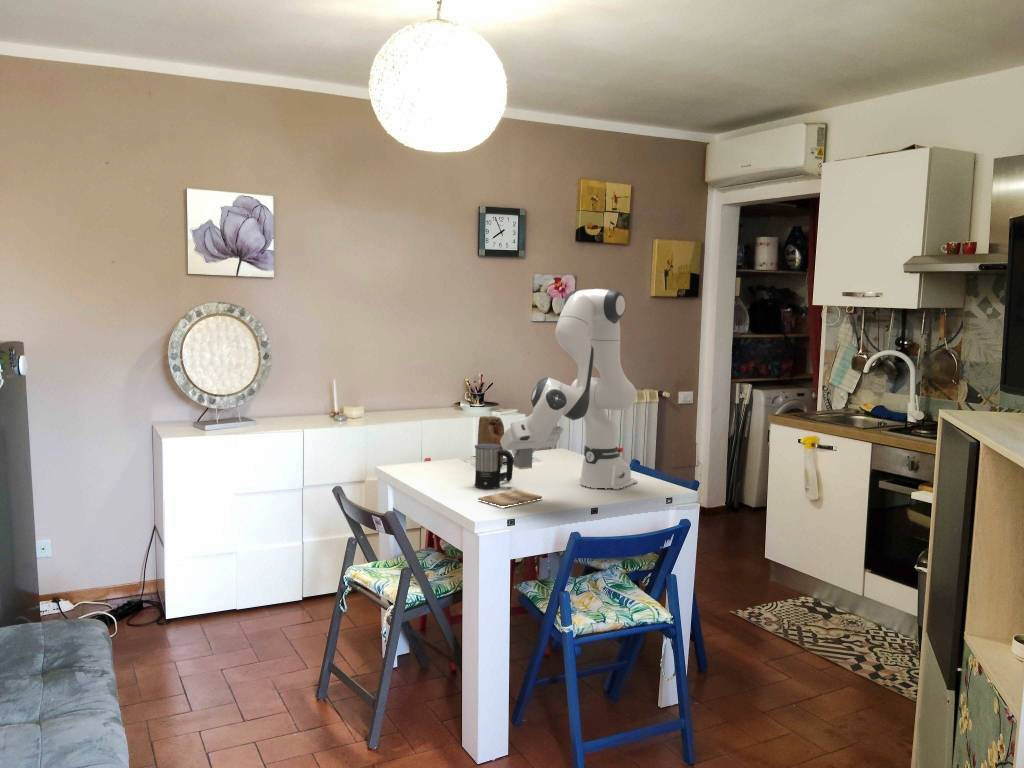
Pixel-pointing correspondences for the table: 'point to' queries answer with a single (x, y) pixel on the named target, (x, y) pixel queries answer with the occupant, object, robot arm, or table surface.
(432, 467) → the table surface
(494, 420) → the block
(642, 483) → the table surface
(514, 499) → the board
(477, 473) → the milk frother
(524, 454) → the block
